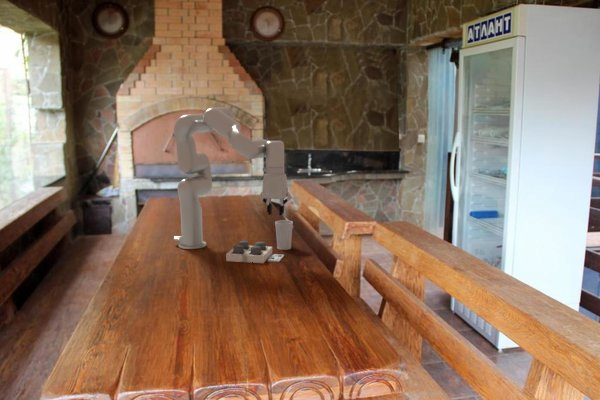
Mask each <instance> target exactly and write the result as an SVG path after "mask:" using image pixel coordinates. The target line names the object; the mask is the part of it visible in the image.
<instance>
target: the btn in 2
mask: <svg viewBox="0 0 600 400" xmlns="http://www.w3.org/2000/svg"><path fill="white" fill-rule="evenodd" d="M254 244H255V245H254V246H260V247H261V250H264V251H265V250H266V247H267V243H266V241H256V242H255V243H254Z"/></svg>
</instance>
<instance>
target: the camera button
mask: <svg viewBox="0 0 600 400" xmlns="http://www.w3.org/2000/svg"><path fill="white" fill-rule="evenodd" d="M232 249H233V254H243V253H244V246H243V245H238V244H236V245H235V244H234V245H233V246H232Z"/></svg>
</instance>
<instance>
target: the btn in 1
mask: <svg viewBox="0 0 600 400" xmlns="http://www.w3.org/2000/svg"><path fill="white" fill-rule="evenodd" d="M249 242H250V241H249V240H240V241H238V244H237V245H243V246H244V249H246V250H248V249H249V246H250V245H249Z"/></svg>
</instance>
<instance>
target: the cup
mask: <svg viewBox="0 0 600 400" xmlns="http://www.w3.org/2000/svg"><path fill="white" fill-rule="evenodd" d="M274 226H275V237H276V248H277V250H280V251H281V250H282V251H287V250H291V249H292V239H293V238H292V237H293V226H294V222H293V221H292V220H288V219H282V220H276V221H274Z"/></svg>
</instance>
